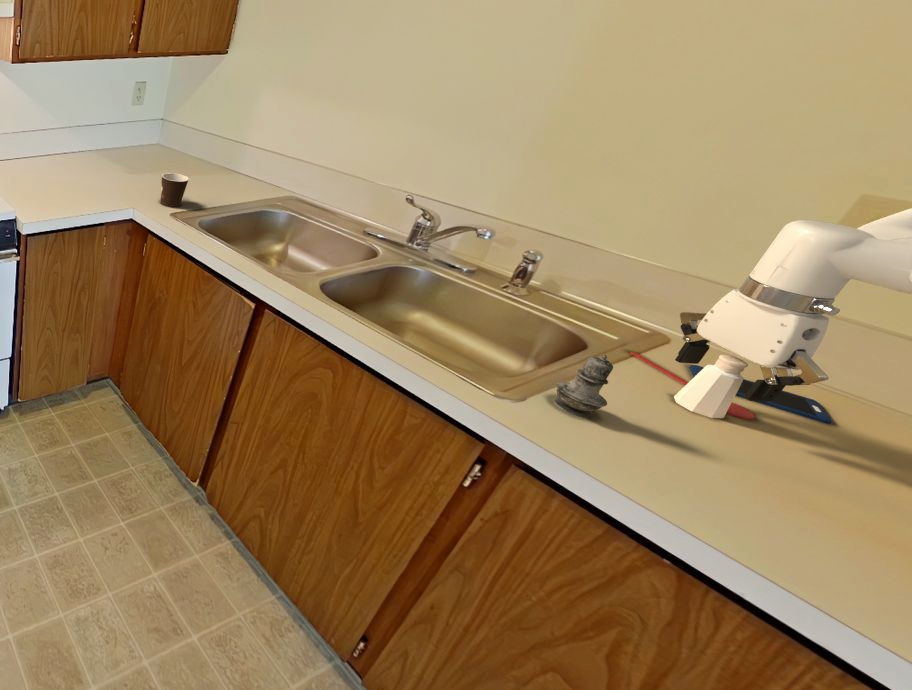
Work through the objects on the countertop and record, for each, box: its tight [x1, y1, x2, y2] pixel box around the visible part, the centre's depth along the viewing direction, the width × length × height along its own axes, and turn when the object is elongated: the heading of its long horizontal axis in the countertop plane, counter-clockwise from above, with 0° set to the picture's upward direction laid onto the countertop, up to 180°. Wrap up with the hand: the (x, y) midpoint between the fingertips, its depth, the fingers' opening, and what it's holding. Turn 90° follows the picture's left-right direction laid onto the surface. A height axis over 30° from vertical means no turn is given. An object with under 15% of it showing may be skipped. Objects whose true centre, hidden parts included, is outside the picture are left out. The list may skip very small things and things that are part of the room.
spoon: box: [629, 352, 755, 420], centre depth 95 cm, size 17×5×1 cm, turn 175°
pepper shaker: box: [673, 354, 749, 419], centre depth 88 cm, size 5×5×11 cm
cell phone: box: [689, 364, 833, 425], centre depth 93 cm, size 7×14×1 cm, turn 44°
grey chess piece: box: [552, 354, 614, 419], centre depth 87 cm, size 6×6×12 cm
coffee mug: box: [160, 172, 190, 208], centre depth 176 cm, size 12×9×10 cm
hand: (719, 380), depth 87 cm, fingers open, 8 cm apart
